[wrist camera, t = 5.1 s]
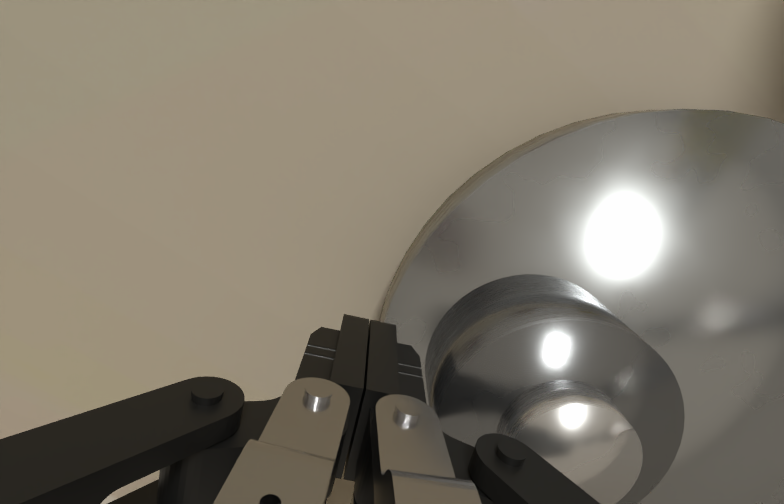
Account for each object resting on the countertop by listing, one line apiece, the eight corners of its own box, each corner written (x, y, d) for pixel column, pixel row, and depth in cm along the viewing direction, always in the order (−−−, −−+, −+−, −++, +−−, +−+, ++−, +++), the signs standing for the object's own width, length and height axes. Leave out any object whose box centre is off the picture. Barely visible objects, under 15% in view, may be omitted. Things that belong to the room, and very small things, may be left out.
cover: (650, 298, 14) (759, 374, 10) (582, 464, 15) (650, 588, 11) (453, 254, 13) (480, 313, 9) (404, 429, 15) (409, 544, 11)
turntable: (974, 184, 15) (1334, 225, 9) (738, 588, 19) (881, 782, 14) (448, 46, 14) (489, -4, 8) (331, 510, 18) (304, 685, 12)
